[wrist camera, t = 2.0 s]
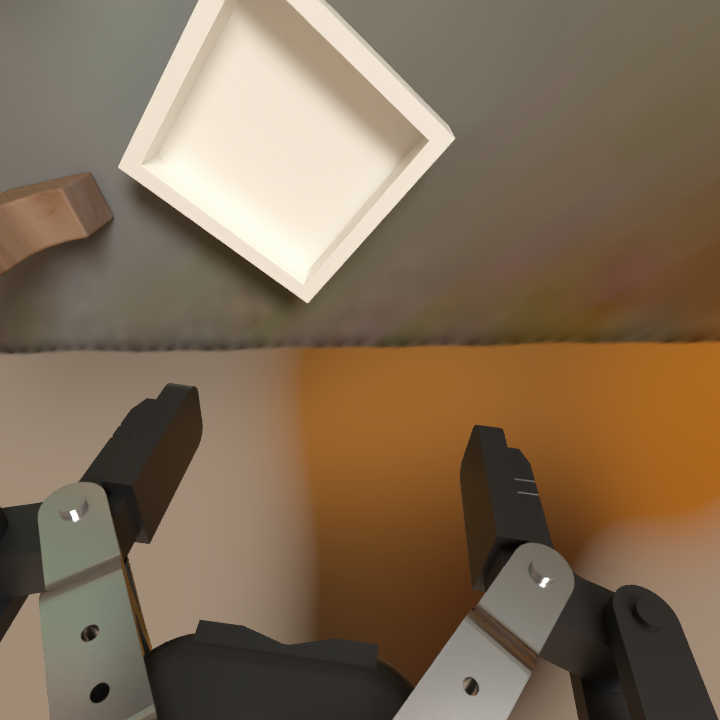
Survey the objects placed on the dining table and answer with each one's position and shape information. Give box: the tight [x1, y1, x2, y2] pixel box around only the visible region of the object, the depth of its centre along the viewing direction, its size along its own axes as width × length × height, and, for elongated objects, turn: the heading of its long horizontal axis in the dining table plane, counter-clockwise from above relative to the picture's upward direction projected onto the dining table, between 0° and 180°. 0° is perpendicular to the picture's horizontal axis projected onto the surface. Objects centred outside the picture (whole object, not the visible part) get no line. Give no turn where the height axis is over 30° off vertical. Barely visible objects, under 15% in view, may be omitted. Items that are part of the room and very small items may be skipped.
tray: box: [118, 0, 455, 303], centre depth 28 cm, size 14×14×4 cm
